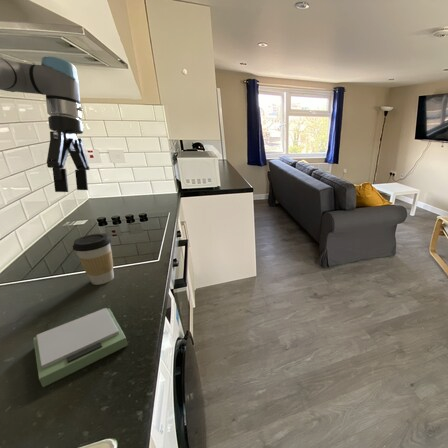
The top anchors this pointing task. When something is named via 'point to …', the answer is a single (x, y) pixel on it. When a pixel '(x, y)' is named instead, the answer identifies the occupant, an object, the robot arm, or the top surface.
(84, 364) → the kitchen scale
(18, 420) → the top surface
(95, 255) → the coffee cup
